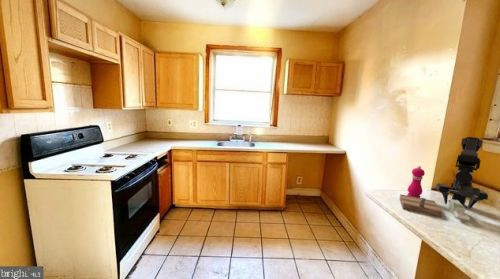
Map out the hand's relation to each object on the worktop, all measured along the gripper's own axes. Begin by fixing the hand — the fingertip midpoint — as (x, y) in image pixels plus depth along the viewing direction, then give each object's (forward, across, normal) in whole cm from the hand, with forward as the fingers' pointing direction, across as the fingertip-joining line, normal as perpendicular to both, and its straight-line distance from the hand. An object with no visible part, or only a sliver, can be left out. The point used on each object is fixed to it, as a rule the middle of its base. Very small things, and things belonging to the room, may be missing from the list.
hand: (457, 206), depth 113 cm
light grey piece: (+4, 0, -2) cm, 5 cm away
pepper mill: (+4, -16, +13) cm, 21 cm away
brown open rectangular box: (+4, -16, -2) cm, 17 cm away
